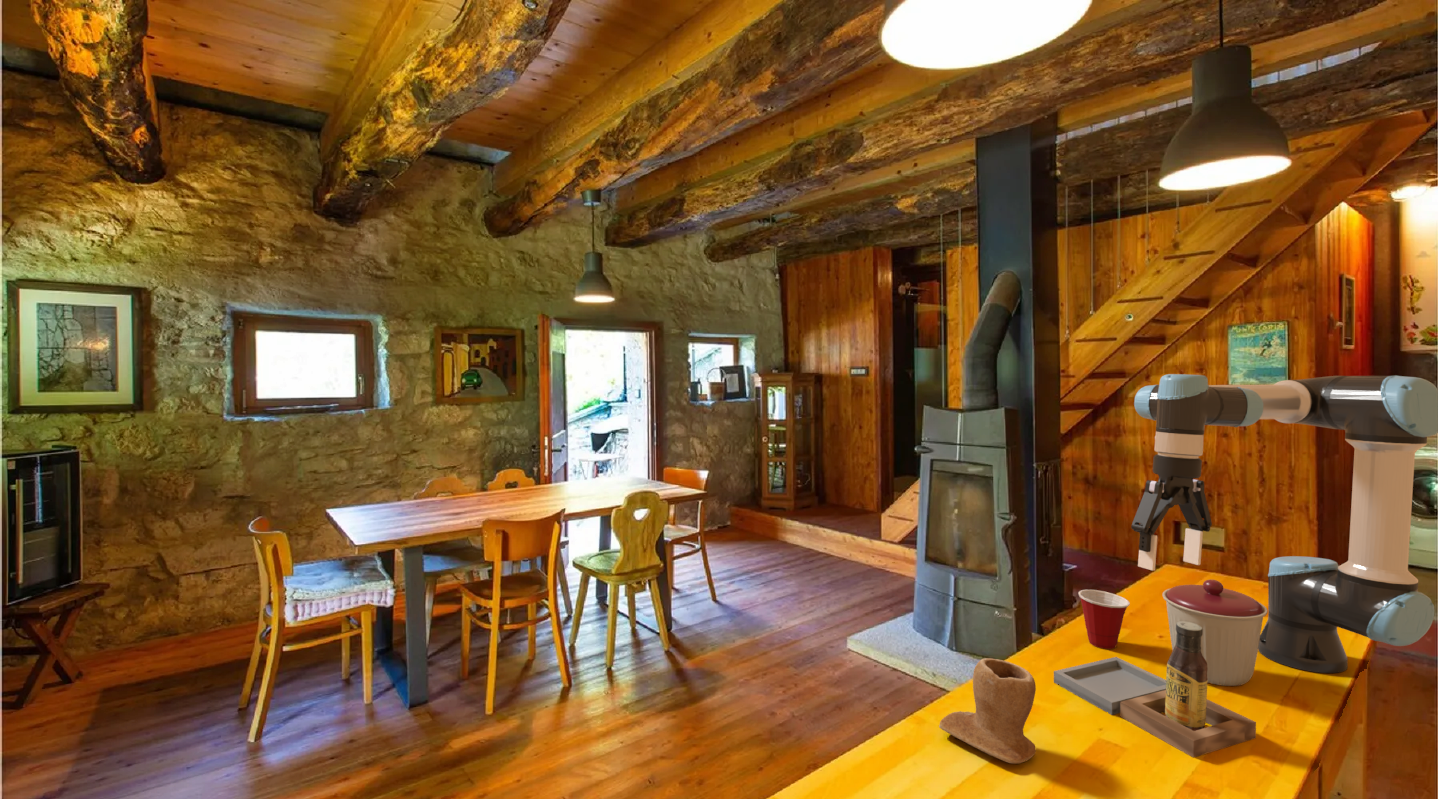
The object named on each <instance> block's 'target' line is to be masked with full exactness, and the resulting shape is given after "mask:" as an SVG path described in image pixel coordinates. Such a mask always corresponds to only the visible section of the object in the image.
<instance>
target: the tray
mask: <svg viewBox="0 0 1438 799" xmlns="http://www.w3.org/2000/svg"><path fill="white" fill-rule="evenodd" d="M1053 683H1055V684H1056V685H1058V684H1059V685H1060V686H1059V685H1058V686H1059V687H1061V688H1063V689H1065V690H1067V691H1068V692H1070V693H1072V694H1074V695H1075V696H1077V697H1079V698H1081V699H1083V700H1084V701H1087V703H1089V704H1091V705H1093V706H1095V707H1096V708H1098V709H1100V710H1102V711H1104V712H1106V713H1107V712H1108V714H1109V715H1111V716H1115V715H1118V714H1120V702H1121V701H1125V700H1129V699H1133V698H1137V697H1141V696H1144V695H1148V694H1152V693H1156V692H1160V691H1164V690H1166V678H1165V679H1164V678H1162V677H1160V676H1158V675H1156V674H1154V673H1152V672H1149V671H1147V670H1145V669H1143V668H1140V667H1139V666H1137V665H1134V664H1133V663H1130V662H1128V661H1125V660H1124V659H1121V658H1119V657H1118V656H1115V657H1111V658H1106V659H1101V660H1097V661H1093V662H1088V663H1084V664H1079V665H1075V666H1071V667H1066V668H1062V669H1058V670H1054V671H1053Z"/></svg>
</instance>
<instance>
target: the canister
mask: <svg viewBox="0 0 1438 799" xmlns="http://www.w3.org/2000/svg"><path fill="white" fill-rule="evenodd" d="M1162 597H1163V600H1164V601H1166V611H1167V619H1168V625H1169V627H1168V628H1169V634H1170V635H1169V636H1170V642H1171V648H1172V650H1173V649H1174V647H1175V645H1176V635H1177V632H1176V623H1177V622H1180V621H1185V622H1191V623H1195V624H1197V625H1199V626H1201V627H1202V629H1203V635H1202V636H1201V653H1202V655H1203V657H1204V659H1205V660H1206V662H1207V668H1208V670H1207V679H1208V682H1207V684H1209V683H1210V684H1212V685H1217V686H1227V687H1230V686H1232V687H1235V686H1236V687H1237V686H1242V685H1244V684H1247V683H1248V682H1249V681H1250V680H1251V678H1252V677H1253V675H1254V672H1255V667H1256V662H1257V657H1258V652H1259V650H1258V646H1259V640H1260V635H1261V633H1262V626H1263V619H1264V617H1266V616H1267V614H1268V609H1267V607H1266V606H1265V605H1264V604H1262V603H1261V602H1259V601H1257V600H1256V599H1255V598H1253V597H1251V596H1249V595H1247V594H1244V593H1242V592H1238V591H1235V590H1232V589H1228V588H1224V585H1223V584H1222V583H1221V581H1219V580H1216V579H1207V580H1204V582H1203V583H1202V584H1183V585H1182V584H1181V585H1176V586H1173V587H1171V588H1167V589H1165V590H1164V591H1163V592H1162Z"/></svg>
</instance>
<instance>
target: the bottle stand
mask: <svg viewBox="0 0 1438 799" xmlns="http://www.w3.org/2000/svg"><path fill="white" fill-rule="evenodd" d="M1165 699H1166V690H1164V691H1160V692H1156V693H1152V694H1148V695H1144V696H1141V697H1137V698H1133V699H1129V700H1125V701H1121V702H1120V713H1119V715H1120V716H1119V717H1120V718H1122V719H1124V720H1125V721H1128V722H1129V723H1131V724H1133V725H1134V726H1136V727H1138V728H1140V729H1142V730H1143V731H1145V732H1147V733H1149V734H1151V735H1152V736H1154V737H1156V738H1158V739H1159V740H1161V741H1163V742H1164V743H1167V744H1168V745H1170V746H1172V747H1174V748H1176V749H1177V750H1179V751H1180V752H1183V753H1184V754H1187V755H1188V756H1189V757H1192V758H1197V757H1199V756H1202V755H1206V754H1208V753H1212V752H1215V751H1219V750H1221V749H1226V748H1228V747H1231V746H1234V745H1235V746H1236V745H1238V744H1240V743H1241V744H1242V743H1245V742H1248V741H1250V740H1255V739H1256V737H1257V734H1256V733H1257V722H1256V721H1255V720H1253V719H1250V718H1248V717H1247V716H1244V715H1242V714H1239V713H1238V712H1235V711H1233V710H1231V709H1230V708H1228V707H1224V706H1222V705H1221V704H1218V703H1215V702H1214V701H1211V700H1209V699H1207V701H1206V722H1205V724H1209V725H1211V726H1207V727H1206V726H1205V728H1203V729H1200V730H1196V731H1193V730H1191V729H1189V728H1187V727H1185V726H1183V725H1181V724H1179V723H1177V722H1175V721H1174V720H1172V719H1170V718H1168V717H1166V715H1165V714H1164V713H1165Z"/></svg>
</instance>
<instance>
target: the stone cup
mask: <svg viewBox="0 0 1438 799" xmlns="http://www.w3.org/2000/svg"><path fill="white" fill-rule="evenodd" d="M972 674H973V677H972V689H973V690H972V691H973V697H974V698H973V699H974V702H975V712H971V711H961V710H960V711H955V712H954V711H953V712H951V713H948V714H947V715H945V716H944V717H943V718H942V719H941V720H940V721H939V725H938V726H939V729H941V730H942V731H944V732H945V733H946V734H949V735H950V736H952V737H954V738H957V739H959V740H960V741H962V742H964V743H966V744H967V745H969V746H971V747H973V748H975V749H977V750H979V751H981V752H983V753H985V754H986V755H989V756H991V757H994V758H996V759H997V760H998V759H999V760H1001V761H1003V762H1006V763H1009V764H1021V763H1024V762H1025V763H1026V762H1027V761H1029V760H1030V759H1032V757H1034V755H1035V754H1036V744H1035V743H1034V742H1032V740H1030V739H1029V738H1028V737H1027V736H1026V735H1025V734H1024V728H1025V725H1026V721H1027V720H1028V717H1029V715H1030V714H1031V711H1032V708H1033V706H1034V701H1035V696H1036V690H1037V686H1036V681H1035V679H1034V676H1033V675H1032V674H1031V673H1030V672H1029V671H1028V670H1027V669H1025V668H1023V667H1021V666H1020V665H1017V664H1015V663H1012V662H1010V661H1005V660H1002V659H997V658H989V657H988V658H986V657H985V658H982V659H980V660H979V661H978V662H977V663H976V665H975V667H974V670H973V673H972Z"/></svg>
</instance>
